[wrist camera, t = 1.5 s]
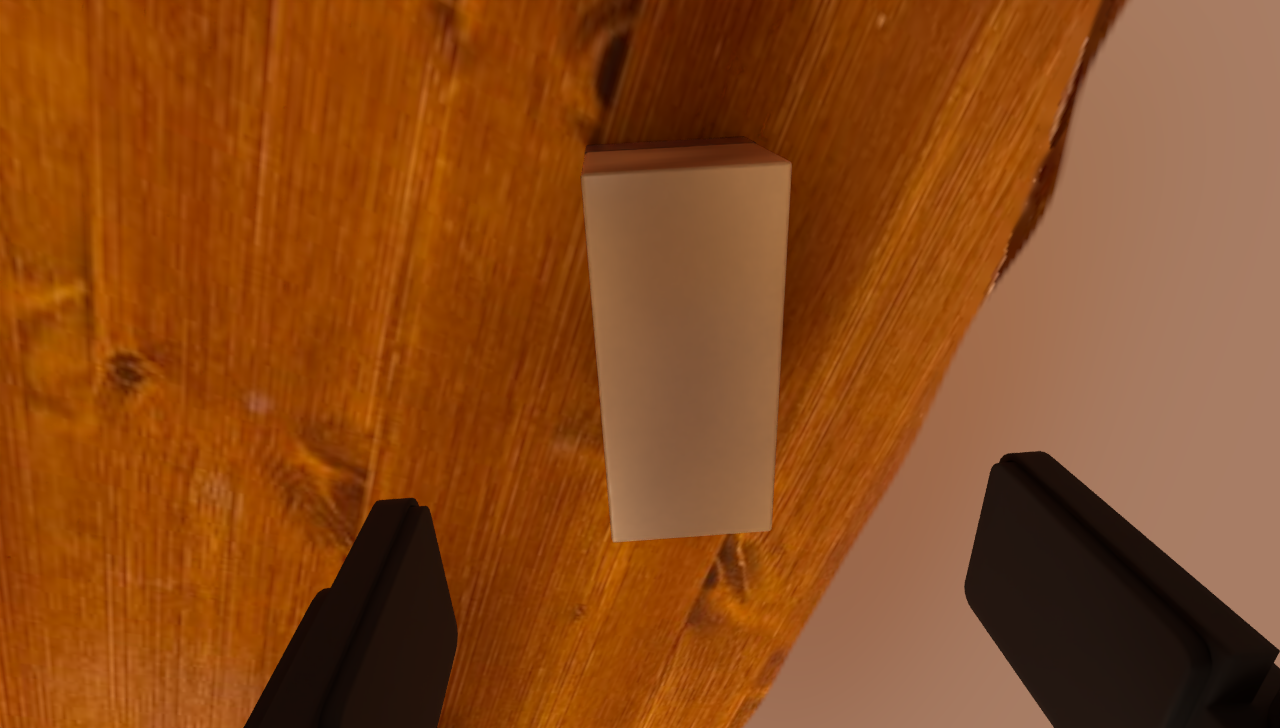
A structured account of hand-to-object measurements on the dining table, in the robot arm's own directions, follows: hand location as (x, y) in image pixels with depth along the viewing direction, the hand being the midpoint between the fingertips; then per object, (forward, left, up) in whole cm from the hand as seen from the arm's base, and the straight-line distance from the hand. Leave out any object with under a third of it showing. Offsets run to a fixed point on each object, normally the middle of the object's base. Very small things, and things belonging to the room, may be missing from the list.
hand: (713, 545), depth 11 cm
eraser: (0, 0, -11) cm, 11 cm away
